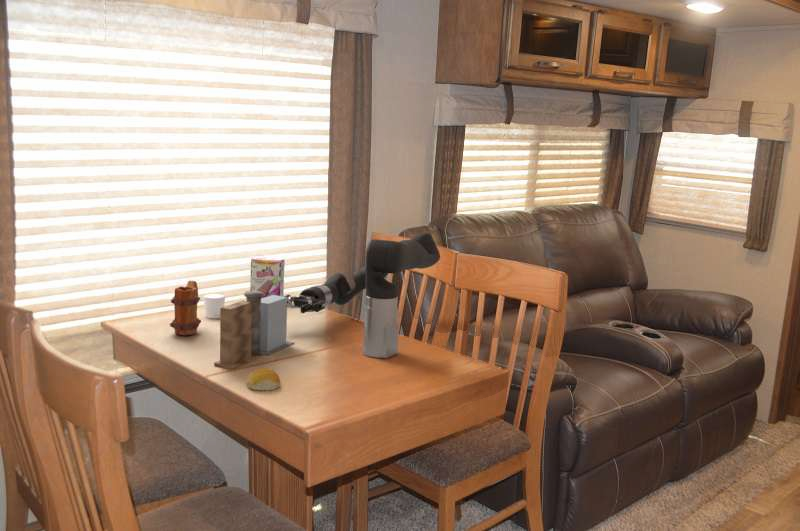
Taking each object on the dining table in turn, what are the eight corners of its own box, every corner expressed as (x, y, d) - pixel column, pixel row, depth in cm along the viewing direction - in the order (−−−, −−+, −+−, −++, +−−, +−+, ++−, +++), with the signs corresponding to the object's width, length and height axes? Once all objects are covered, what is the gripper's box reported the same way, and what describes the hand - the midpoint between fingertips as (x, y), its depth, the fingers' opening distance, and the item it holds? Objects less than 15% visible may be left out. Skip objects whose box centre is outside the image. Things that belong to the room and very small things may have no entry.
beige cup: (229, 316, 250) (229, 295, 249) (214, 320, 245) (214, 299, 243) (214, 312, 254) (214, 292, 253) (199, 316, 248) (199, 295, 247)
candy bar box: (249, 303, 268) (250, 258, 265) (253, 300, 273) (254, 256, 270) (279, 306, 267) (280, 261, 264) (283, 303, 272) (284, 258, 269)
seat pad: (271, 339, 227) (271, 338, 227) (294, 343, 224) (294, 342, 224) (244, 350, 214) (244, 349, 214) (267, 355, 211) (267, 354, 211)
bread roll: (278, 379, 193) (278, 364, 192) (281, 391, 184) (281, 375, 184) (245, 380, 191) (245, 365, 190) (247, 392, 182) (247, 377, 182)
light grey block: (286, 343, 222) (287, 297, 220) (267, 351, 213) (268, 303, 211) (271, 340, 224) (272, 294, 222) (252, 348, 215) (253, 301, 213)
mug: (194, 338, 223) (194, 289, 220) (167, 337, 223) (167, 287, 220) (207, 325, 237) (208, 279, 235) (182, 324, 237) (182, 278, 235)
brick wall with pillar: (249, 350, 215) (250, 289, 211) (267, 354, 212) (268, 292, 209) (214, 365, 200) (214, 300, 197) (232, 369, 198) (233, 303, 194)
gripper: (335, 312, 239) (309, 323, 224) (296, 306, 245) (268, 316, 230) (336, 289, 238) (310, 298, 223) (297, 283, 243) (269, 292, 229)
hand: (289, 307), depth 227 cm, fingers open, 8 cm apart
